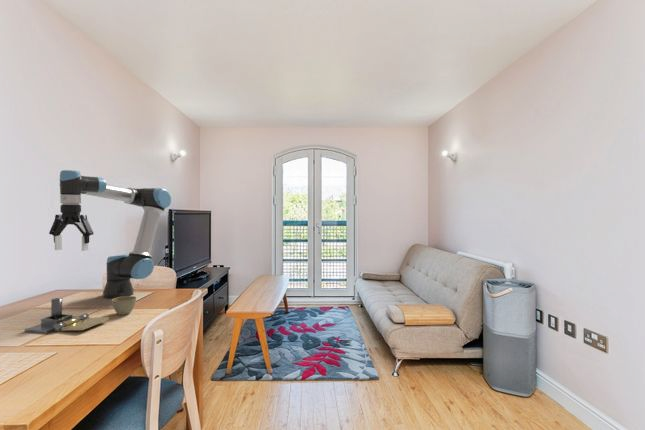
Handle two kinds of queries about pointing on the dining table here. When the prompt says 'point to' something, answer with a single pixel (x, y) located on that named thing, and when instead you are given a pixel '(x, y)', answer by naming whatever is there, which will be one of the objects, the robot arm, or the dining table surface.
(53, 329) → the hinge base
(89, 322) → the brass leaf
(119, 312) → the flower pot
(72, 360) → the dining table surface
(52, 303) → the pin
